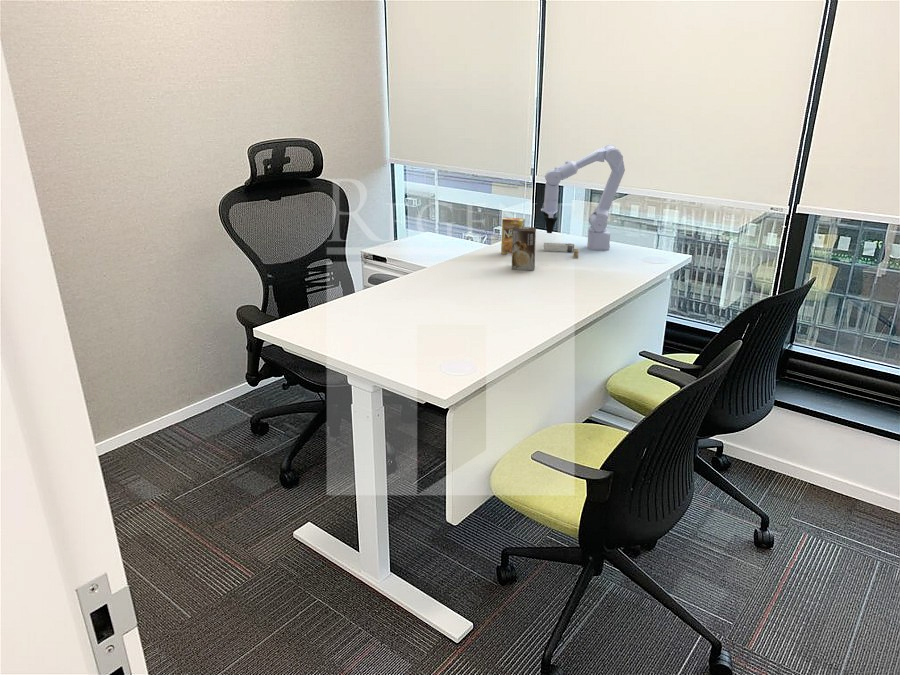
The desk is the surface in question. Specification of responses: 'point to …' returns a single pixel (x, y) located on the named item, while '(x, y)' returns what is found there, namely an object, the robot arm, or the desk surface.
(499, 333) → the desk surface
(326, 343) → the desk surface
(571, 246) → the bar
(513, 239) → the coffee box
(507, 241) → the candy box
